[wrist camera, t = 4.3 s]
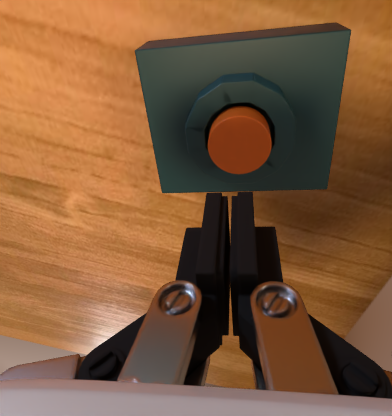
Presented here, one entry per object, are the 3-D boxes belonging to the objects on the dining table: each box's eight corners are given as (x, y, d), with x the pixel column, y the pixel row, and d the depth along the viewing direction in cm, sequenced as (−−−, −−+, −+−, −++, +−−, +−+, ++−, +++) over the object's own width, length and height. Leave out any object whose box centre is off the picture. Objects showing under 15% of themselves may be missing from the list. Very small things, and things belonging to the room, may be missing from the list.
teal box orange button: (337, 22, 20) (362, 34, 16) (318, 167, 25) (333, 204, 21) (147, 41, 21) (125, 56, 17) (169, 173, 27) (156, 207, 23)
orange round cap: (270, 103, 18) (272, 113, 17) (268, 160, 20) (270, 173, 19) (207, 107, 19) (205, 117, 18) (212, 162, 21) (210, 175, 20)
